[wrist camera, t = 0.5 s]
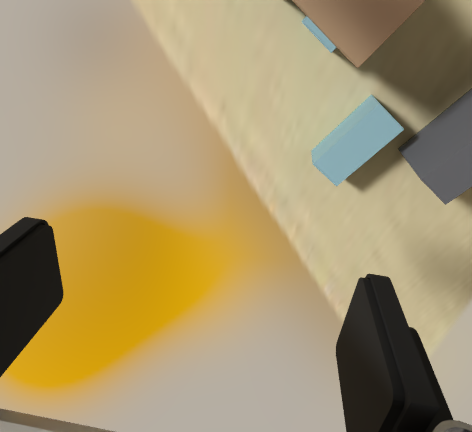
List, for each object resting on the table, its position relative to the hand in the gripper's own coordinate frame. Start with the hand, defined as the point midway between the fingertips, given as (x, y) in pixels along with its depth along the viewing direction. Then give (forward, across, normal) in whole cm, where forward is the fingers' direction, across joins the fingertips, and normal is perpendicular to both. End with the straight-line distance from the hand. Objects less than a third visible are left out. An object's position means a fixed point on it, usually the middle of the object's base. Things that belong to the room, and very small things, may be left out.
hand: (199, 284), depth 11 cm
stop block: (+25, -17, -1) cm, 30 cm away
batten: (+25, -9, +1) cm, 27 cm away
